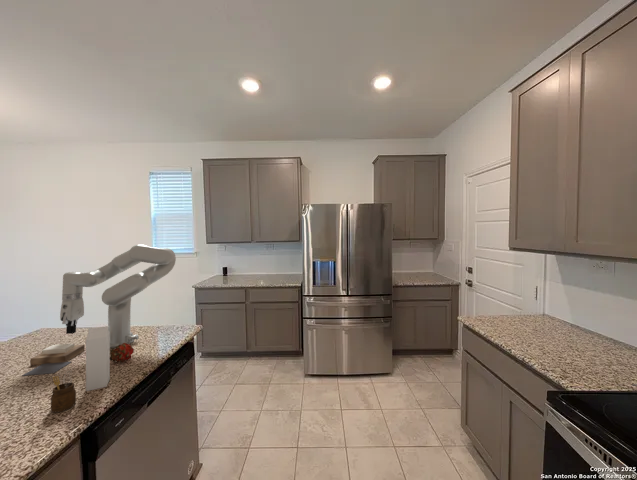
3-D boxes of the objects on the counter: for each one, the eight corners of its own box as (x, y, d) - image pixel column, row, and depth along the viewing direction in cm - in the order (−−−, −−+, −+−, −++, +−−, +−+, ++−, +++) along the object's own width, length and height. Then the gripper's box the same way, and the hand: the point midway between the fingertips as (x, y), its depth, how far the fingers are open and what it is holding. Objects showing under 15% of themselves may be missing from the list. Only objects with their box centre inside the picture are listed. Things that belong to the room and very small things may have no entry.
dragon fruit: (116, 371, 113) (122, 363, 124) (135, 355, 117) (140, 349, 128) (102, 357, 112) (109, 350, 123) (122, 341, 116) (127, 337, 126)
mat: (71, 362, 118) (71, 361, 118) (54, 373, 109) (54, 372, 109) (42, 364, 116) (42, 363, 116) (22, 376, 106) (22, 375, 106)
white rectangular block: (74, 347, 127) (74, 343, 127) (65, 352, 121) (65, 348, 121) (52, 349, 125) (52, 344, 125) (42, 354, 120) (42, 350, 120)
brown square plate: (84, 350, 131) (84, 344, 131) (65, 362, 118) (65, 356, 118) (53, 353, 128) (53, 346, 128) (30, 365, 115) (30, 358, 115)
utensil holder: (80, 401, 90) (80, 366, 90) (65, 413, 84) (65, 375, 84) (60, 402, 89) (60, 367, 89) (44, 415, 83) (44, 377, 83)
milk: (106, 387, 98) (106, 328, 98) (85, 391, 96) (85, 331, 95) (109, 379, 104) (109, 323, 104) (89, 383, 101) (90, 326, 101)
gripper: (70, 299, 126) (68, 338, 126) (90, 293, 141) (89, 328, 140) (52, 300, 124) (50, 338, 124) (74, 293, 139) (73, 328, 139)
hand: (71, 333), depth 132 cm, fingers closed
